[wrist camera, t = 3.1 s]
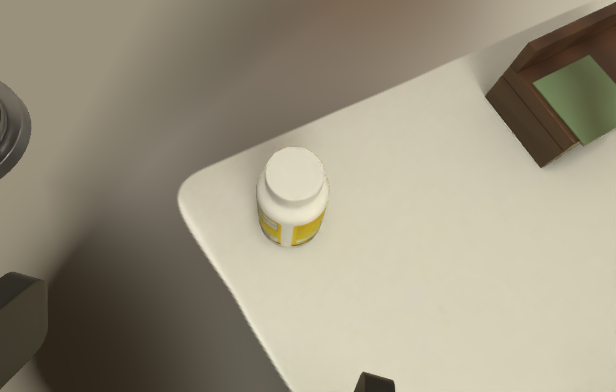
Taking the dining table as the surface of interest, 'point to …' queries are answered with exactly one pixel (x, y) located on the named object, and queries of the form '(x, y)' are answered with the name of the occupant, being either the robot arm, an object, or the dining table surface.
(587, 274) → the dining table surface
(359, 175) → the dining table surface
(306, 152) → the supplement bottle
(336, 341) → the dining table surface
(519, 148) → the dining table surface
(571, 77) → the shelf
